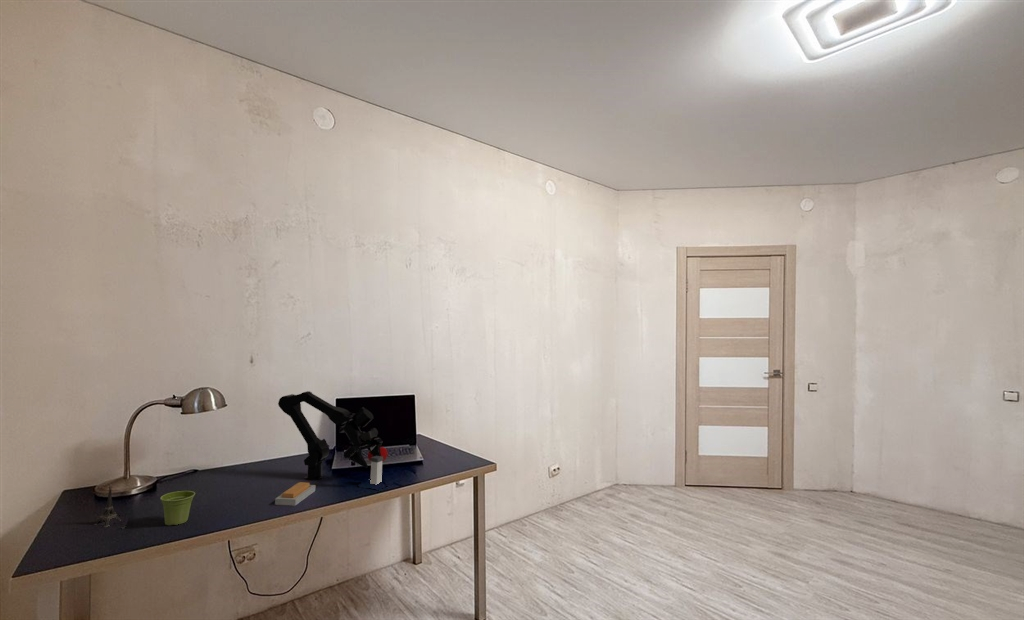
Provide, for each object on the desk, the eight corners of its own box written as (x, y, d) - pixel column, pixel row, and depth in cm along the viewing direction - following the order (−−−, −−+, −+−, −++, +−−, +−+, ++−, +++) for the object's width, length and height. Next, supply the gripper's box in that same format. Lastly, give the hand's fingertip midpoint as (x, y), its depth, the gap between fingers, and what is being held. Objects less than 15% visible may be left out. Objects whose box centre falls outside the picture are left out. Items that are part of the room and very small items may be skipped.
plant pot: (181, 514, 162) (183, 488, 162) (200, 519, 158) (201, 493, 158) (152, 524, 153) (153, 497, 153) (170, 530, 149) (172, 502, 150)
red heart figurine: (382, 466, 224) (383, 444, 224) (390, 469, 218) (390, 447, 219) (364, 469, 217) (365, 447, 218) (371, 473, 212) (372, 451, 212)
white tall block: (369, 484, 196) (370, 457, 197) (375, 481, 200) (376, 455, 200) (376, 485, 195) (377, 458, 195) (382, 483, 198) (383, 456, 199)
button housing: (296, 489, 189) (296, 484, 189) (315, 490, 188) (315, 485, 188) (274, 504, 173) (275, 498, 173) (295, 505, 172) (295, 499, 172)
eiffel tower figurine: (126, 530, 150) (128, 487, 150) (83, 536, 144) (86, 492, 145) (133, 513, 162) (135, 474, 163) (94, 519, 157) (96, 478, 158)
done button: (298, 486, 187) (299, 482, 187) (309, 487, 187) (309, 482, 187) (282, 498, 174) (282, 493, 174) (293, 498, 174) (293, 493, 174)
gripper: (350, 426, 192) (370, 457, 187) (380, 419, 209) (399, 447, 205) (334, 443, 195) (354, 474, 190) (365, 434, 212) (384, 463, 207)
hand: (374, 464), depth 198 cm, fingers open, 9 cm apart
